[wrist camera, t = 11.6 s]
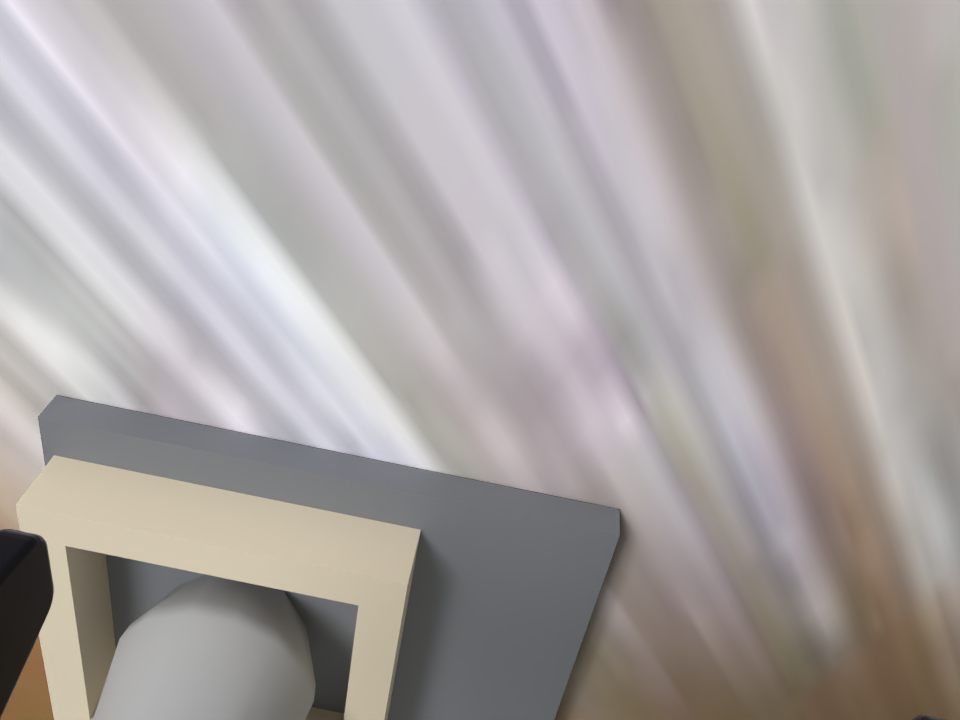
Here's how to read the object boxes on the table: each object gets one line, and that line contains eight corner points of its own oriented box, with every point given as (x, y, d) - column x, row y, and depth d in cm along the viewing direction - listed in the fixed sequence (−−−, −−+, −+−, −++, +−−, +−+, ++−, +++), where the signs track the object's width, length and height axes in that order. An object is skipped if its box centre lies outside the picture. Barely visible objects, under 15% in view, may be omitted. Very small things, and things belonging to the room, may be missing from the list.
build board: (619, 509, 25) (620, 591, 23) (529, 767, 33) (523, 851, 30) (56, 395, 26) (-3, 465, 23) (93, 678, 33) (51, 754, 30)
